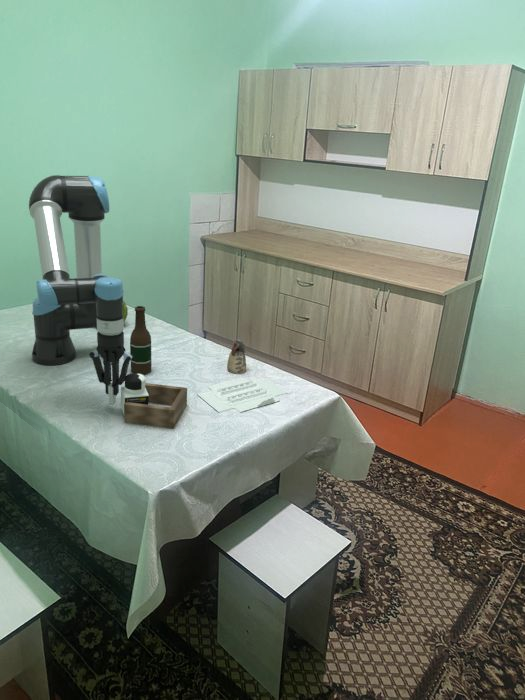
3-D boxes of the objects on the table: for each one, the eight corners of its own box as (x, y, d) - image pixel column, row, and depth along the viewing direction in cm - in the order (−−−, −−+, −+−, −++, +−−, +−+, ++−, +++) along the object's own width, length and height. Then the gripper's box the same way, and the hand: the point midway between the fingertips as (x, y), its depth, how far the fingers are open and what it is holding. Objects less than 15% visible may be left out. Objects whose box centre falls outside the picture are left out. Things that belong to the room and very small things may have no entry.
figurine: (250, 370, 197) (252, 340, 193) (236, 375, 192) (238, 345, 188) (236, 364, 202) (238, 334, 197) (223, 369, 197) (224, 339, 192)
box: (124, 422, 157) (123, 404, 155) (141, 399, 171) (141, 382, 169) (174, 428, 156) (174, 410, 154) (186, 404, 170) (187, 387, 168)
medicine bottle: (124, 418, 159) (125, 381, 155) (120, 407, 165) (121, 371, 161) (148, 415, 162) (149, 380, 157) (143, 404, 168) (144, 370, 163)
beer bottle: (147, 376, 187) (146, 311, 177) (126, 373, 188) (124, 308, 179) (155, 368, 194) (155, 305, 184) (135, 365, 195) (134, 302, 186)
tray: (191, 392, 179) (192, 382, 178) (258, 378, 196) (259, 369, 194) (224, 419, 164) (225, 408, 163) (293, 401, 181) (295, 391, 179)
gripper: (83, 332, 152) (87, 406, 161) (126, 338, 151) (128, 411, 159) (94, 324, 159) (97, 395, 168) (136, 329, 158) (137, 400, 166)
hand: (112, 403), depth 164 cm, fingers closed
